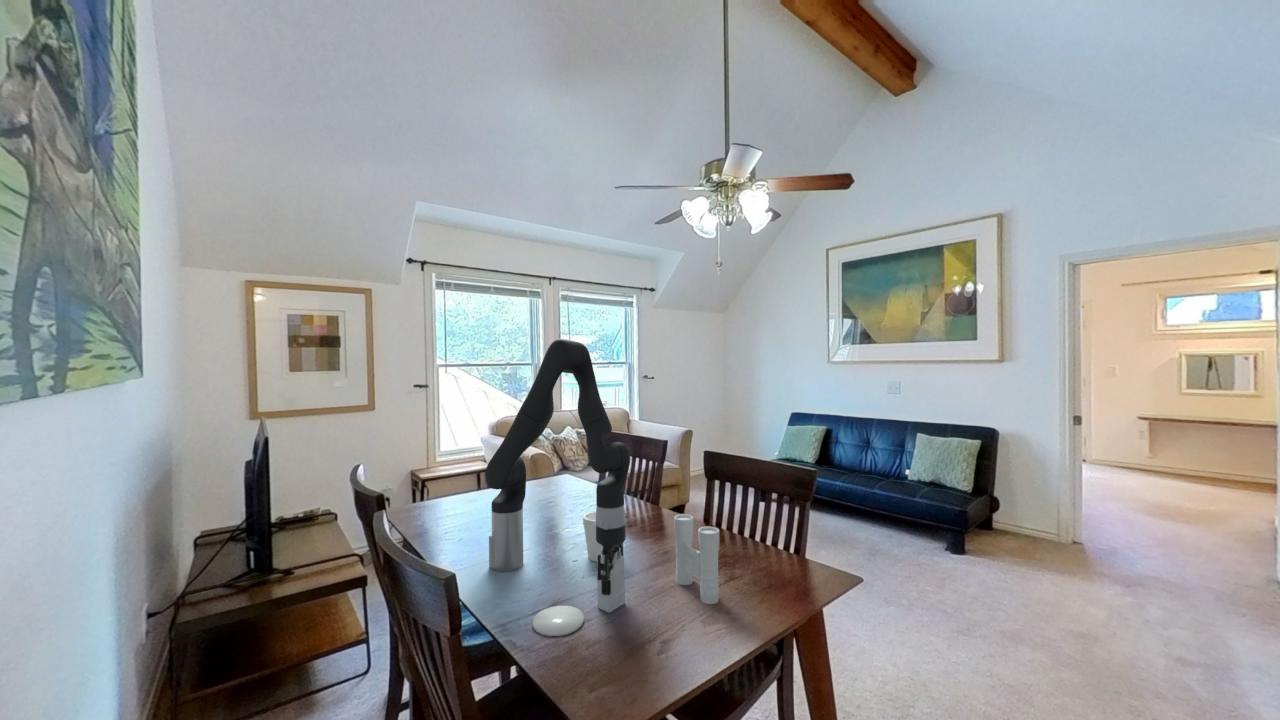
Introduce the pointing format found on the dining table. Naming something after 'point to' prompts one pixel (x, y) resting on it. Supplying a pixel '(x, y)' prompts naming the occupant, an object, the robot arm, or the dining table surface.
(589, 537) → the foam cup
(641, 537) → the dining table surface
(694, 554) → the binoculars
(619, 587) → the skincare box
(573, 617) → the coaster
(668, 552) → the dining table surface
